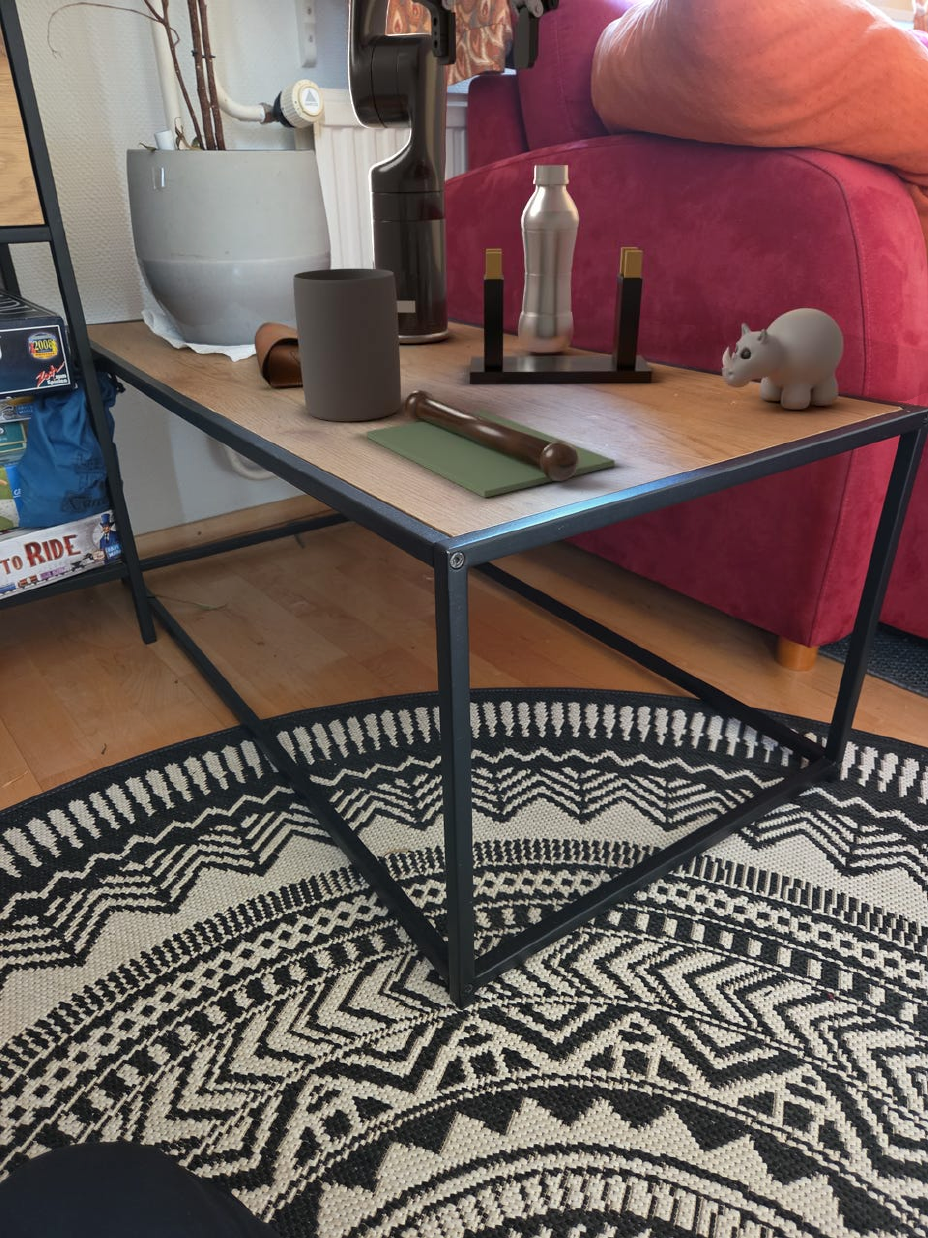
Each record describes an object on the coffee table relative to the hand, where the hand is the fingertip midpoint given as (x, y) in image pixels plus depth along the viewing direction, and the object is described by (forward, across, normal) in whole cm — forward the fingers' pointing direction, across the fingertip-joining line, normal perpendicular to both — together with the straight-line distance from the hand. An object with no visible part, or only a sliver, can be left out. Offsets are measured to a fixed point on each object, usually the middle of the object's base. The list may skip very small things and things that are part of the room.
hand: (486, 66), depth 77 cm
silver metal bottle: (+28, +14, +8) cm, 33 cm away
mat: (+28, -14, -20) cm, 37 cm away
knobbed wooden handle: (+26, -14, -20) cm, 36 cm away
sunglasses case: (+28, -14, +18) cm, 36 cm away
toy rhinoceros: (+28, +16, -24) cm, 40 cm away
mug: (+28, -16, 0) cm, 33 cm away
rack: (+28, +8, -2) cm, 29 cm away
